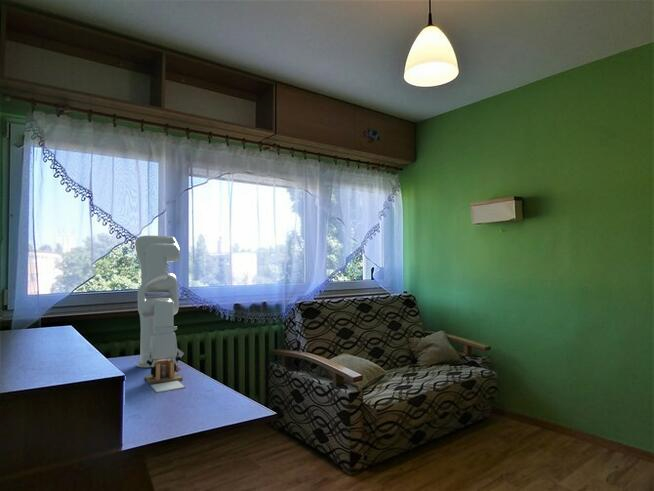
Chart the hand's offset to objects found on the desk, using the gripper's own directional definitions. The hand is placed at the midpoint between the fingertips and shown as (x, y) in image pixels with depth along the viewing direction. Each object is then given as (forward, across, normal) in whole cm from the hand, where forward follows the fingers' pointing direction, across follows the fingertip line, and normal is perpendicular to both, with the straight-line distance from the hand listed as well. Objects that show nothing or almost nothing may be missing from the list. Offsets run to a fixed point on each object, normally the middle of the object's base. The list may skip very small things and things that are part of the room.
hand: (163, 374), depth 168 cm
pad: (+2, +1, +12) cm, 12 cm away
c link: (+1, 0, 0) cm, 1 cm away
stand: (+2, 0, 0) cm, 2 cm away
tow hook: (+2, -4, -12) cm, 13 cm away
